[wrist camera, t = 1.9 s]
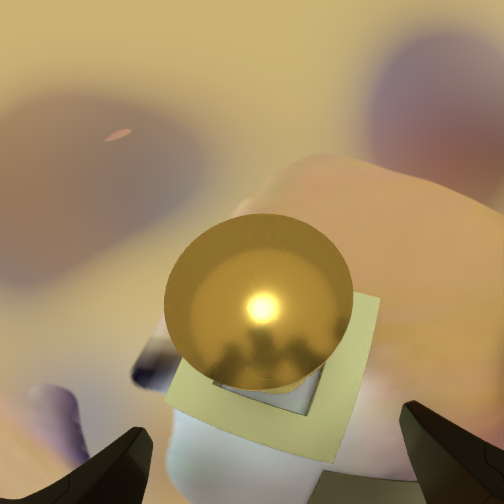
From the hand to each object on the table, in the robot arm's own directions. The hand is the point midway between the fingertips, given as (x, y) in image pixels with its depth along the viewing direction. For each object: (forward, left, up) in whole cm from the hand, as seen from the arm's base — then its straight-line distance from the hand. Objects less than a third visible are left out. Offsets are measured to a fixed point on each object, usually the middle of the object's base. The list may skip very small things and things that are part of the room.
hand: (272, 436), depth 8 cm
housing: (+4, +2, -11) cm, 12 cm away
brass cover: (+4, +2, -11) cm, 12 cm away
